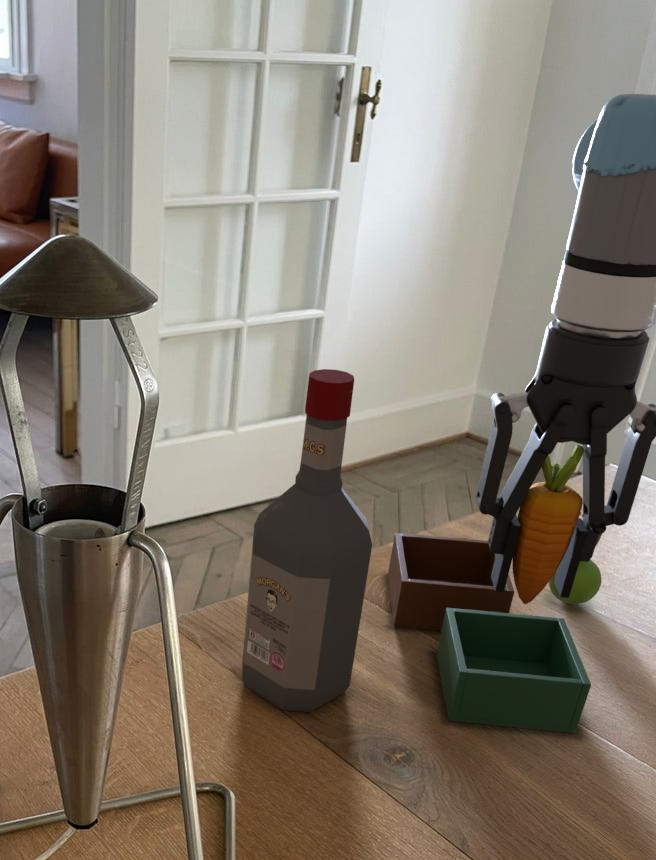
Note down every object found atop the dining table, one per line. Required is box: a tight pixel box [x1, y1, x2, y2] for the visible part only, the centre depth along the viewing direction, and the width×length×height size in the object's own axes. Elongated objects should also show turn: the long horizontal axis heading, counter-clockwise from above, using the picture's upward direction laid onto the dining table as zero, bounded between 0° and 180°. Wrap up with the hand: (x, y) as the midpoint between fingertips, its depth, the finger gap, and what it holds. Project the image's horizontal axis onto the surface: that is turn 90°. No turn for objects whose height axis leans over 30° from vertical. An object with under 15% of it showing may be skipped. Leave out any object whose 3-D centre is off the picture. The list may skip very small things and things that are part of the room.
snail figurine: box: [548, 511, 603, 605], centre depth 105 cm, size 5×6×12 cm
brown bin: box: [387, 532, 515, 631], centre depth 106 cm, size 11×11×6 cm
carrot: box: [512, 444, 585, 605], centre depth 84 cm, size 5×5×15 cm
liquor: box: [241, 368, 373, 713], centre depth 85 cm, size 9×9×30 cm
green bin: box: [435, 608, 592, 734], centre depth 92 cm, size 11×11×6 cm
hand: (529, 586), depth 87 cm, fingers closed on carrot, 5 cm apart
